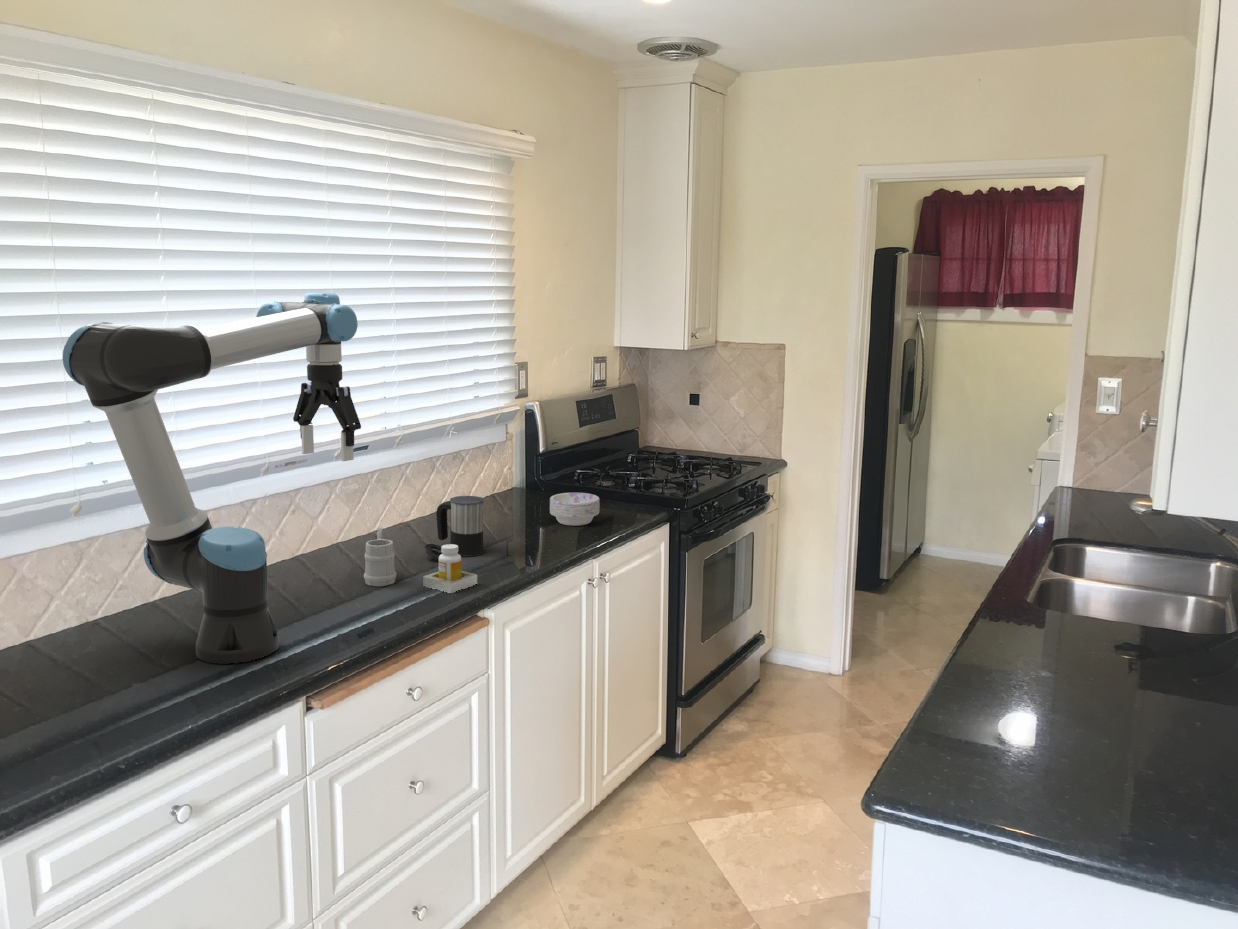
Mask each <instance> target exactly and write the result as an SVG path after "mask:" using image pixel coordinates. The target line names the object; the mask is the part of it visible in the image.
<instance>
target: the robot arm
mask: <svg viewBox="0 0 1238 929" xmlns="http://www.w3.org/2000/svg"><path fill="white" fill-rule="evenodd" d="M358 326H359V325H358V317H357V315H356V313H355V311H354V310H353V308H351V307H350V306H348V305H346V304H341V300H340V297H339V295H338V294H336V293H330V292H329V293H328V292H327V293H326V292H308V293H307V292H306V294H304V300H303V301H302V302H297V301H295V302H294V301H273V302H270V301H269V302H264V303H262V304H261V305H260V306H259V307H258V308H257V311H256V316H255V317H252V318H248V319H242V320H237V321H232V322H228V323H222V324H216V325H212V326H206V327H201V328H198V327H197V326H195V325H193V324H188V325H187V324H186V325H181V326H172V327H168V326H167V327H165V326H164V327H163V326H162V327H160V326H147V325H139V324H137V325H136V324H135V325H133V324H122V323H120V324H119V323H112V322H104V321H102V322H99V323H97V322H96V323H95V322H94V323H89V324H85V325H83V326H80V327H79V328H77V329H76V330H74V331H73V332H72V333H71V334H70V335H69V337H68V338H67V340H66V343H65V345H64V347H63V350H62V364H63V368H64V371H65V372H66V373H67V375H68V376H69V377H70V379H72V381H74V382H76V384H78V385H81V386H83V387H84V389H85V392H86V394H87V395H88V398H89V401H90V403H91V405H92V407H94V408H96V409H98V410H101V411H102V412H104V414H105V416H106V418H107V420H108V423H109V424H110V427H111V428H110V429H111V431H112V433H113V435H114V438H115V440H116V443H117V445H118V447H119V450H120V452H121V454H122V457H123V459H124V460H123V461H124V462H125V464H126V467H127V469H128V473H129V474H130V477H131V480H132V482H133V484H134V487H135V490H136V491H137V494H138V497H139V499H140V502H141V504H142V506H143V509H144V512H145V515H146V516H147V519H148V522H149V525H147V528H146V529H145V533H144V534H145V538H146V540H145V543H146V545H145V546H144V548H143V560H144V562H145V565H146V567H147V570H149V571H150V573H151V574H152V575H153V576H155V577H156V578H158V579H160V580H162V581H163V582H165V583H168V584H170V585H175V586H177V587H178V586H179V587H183V588H187V589H189V590H190V589H191V590H194V591H198V592H201V593H202V607H203V608H202V610H203V616H202V619H201V623H200V626H199V630H198V634H197V638H196V640H195V656H196V658H197V659H199V660H200V661H203V662H206V663H209V664H216V663H217V664H219V665H226V664H227V665H230V664H229V663H234V664H240V663H239V662H243V663H247V662H252V660H253V661H256V660H255V659H257V660H259V659H258V658H260V657H262V656H266V657H268V656H270V655H272V654H273V653H272V652H274V651H275V650H276V651H277V650H279V648H280V635H279V631H278V629H277V626H276V624H275V622H274V619H273V617H272V615H271V612H270V610H269V597H268V595H269V594H268V592H269V591H268V566H267V563H268V562H267V561H268V560H267V559H268V558H267V556H268V554H267V549H266V543H265V540H264V537H263V536H262V535H261V534H260V533H259V532H257V531H255V530H253V529H250V528H246V527H241V526H239V527H234V526H221V527H220V526H218V527H214V528H213V527H212V524H211V521H210V519H209V517H208V513H207V512H206V511H205V510H203V509H200V508H197V507H196V506H195V502H194V500H193V497H192V494H191V491H190V489H189V487H188V484H187V482H186V479H185V476H184V473H183V471H182V469H181V468H182V467H181V466H180V463H179V460H178V458H177V455H176V452H175V450H174V447H173V444H172V442H171V439H170V436H169V434H168V431H167V429H166V426H165V423H164V420H163V418H162V415H161V412H160V410H159V407H158V405H157V401H156V399H155V396H156V395H157V392H158V391H159V390H161V389H165V388H169V387H172V386H173V387H174V386H177V385H180V384H184V383H186V382H191V381H195V380H198V379H203V378H205V377H207V376H208V375H209V374H210V373H211V371H212V370H215V369H219V368H224V367H227V366H231V365H234V364H239V363H243V362H248V361H251V360H256V359H259V358H261V359H262V358H264V357H268V356H273V355H277V354H281V353H286V352H289V351H293V350H297V349H301V348H306V350H305V351H306V352H305V353H306V357H305V358H306V360H305V361H306V362H308V363H309V364H307V365H306V376H307V380H308V382H302V383H301V385H300V394H299V398H298V401H297V404H296V408H295V411H294V415H293V417H292V420H293V422H294V423H298V425H299V429H300V430H299V431H300V439H301V454H302V455H308V454H314V453H315V446H314V445H315V444H314V441H315V440H314V439H315V438H314V425H313V422H312V421H313V419H314V417H315V416H316V414H317V412H318V411H319V409H320V406H322V405H324V406H328V408H329V409H331V410H332V413H333V414H334V416H335V418H336V419H337V421H338V423H339V425H340V426H341V427H340V428H342V430H341V432H340V445H341V446H340V448H341V449H340V450H341V451H340V452H341V462H348V461H354V459H355V457H354V447H355V431H357V430H360V429H362V424H361V421H360V419H359V416H358V413H357V410H356V408H355V405H354V404H355V403H354V402H353V401H354V400H353V398H352V396H351V395H352V394H351V387H350V386H340V381H342V380H343V365H342V364H341V362H342V360H343V359H342V356H343V355H342V354H343V353H342V342H348V341H350V340H352V338H354V336H355V335H356V333H357V330H358ZM309 381H310V382H309ZM276 651H275V652H276ZM275 652H274V653H275ZM271 653H272V654H271ZM269 654H270V655H269ZM267 655H268V656H267ZM260 659H261V658H260ZM217 664H216V665H217Z"/></svg>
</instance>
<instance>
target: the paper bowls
mask: <svg viewBox="0 0 1238 929" xmlns="http://www.w3.org/2000/svg"><path fill="white" fill-rule="evenodd" d="M600 508H601V507H600V497H599V496H598V495H596V494H592V493H588V492H562V493H556V494H554V495H552V496H550V497H549V514H550V515H551V516H554V517H555V519H556V520H557V522H558V523H559V524H562V525H564V526H575V527H576V526H577V527H578V526H579V527H580V526H584V525H588V524H590V523H591V522H592V521H593V519H594V517H595V516H598V515H599V514H600Z"/></svg>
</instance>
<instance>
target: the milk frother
mask: <svg viewBox="0 0 1238 929" xmlns="http://www.w3.org/2000/svg"><path fill="white" fill-rule="evenodd" d="M485 501H486V499H485V498H484V497H481V496H476V495H457V496H454V497H453V496H452V497H451V498H449V500H447V501H444V502H441V503H440V504H439V505H438V506H437V509H436V515H435V516H436V528H437V538H438V540H440V541H445V540H446V539H448V537H449V531H448V530H449V529H448V528H449V527H448V511H449V510H450V538H449V539H450V542H449V544H454V545H458V553H457V554H459V555H460V556H461V557H476V556H481V555H483V554H484V553H485V549H484V510H485V509H484V507H485V506H484V503H485ZM441 546H442V545H441ZM441 546H440V545H438V544H434V543H426V544H425V545H424V551H425V553H426V554H427V555H428V556H430V557H431V558H433V559H436V562H437V561H438V559H439V556H440V555H441V554H442V552H441Z"/></svg>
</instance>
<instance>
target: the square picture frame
mask: <svg viewBox="0 0 1238 929" xmlns="http://www.w3.org/2000/svg"><path fill="white" fill-rule="evenodd" d="M461 577H462V578H459V579H456V580H453V581H448V580H444V579H440V578H439V570H438V571H436V572H433V573H429V574H426V575H423V576H422V581H423V582H422V584H423V585H422V586H423V587H424V586H425V587H424V588H428V589H431V588H432V589H431V590H435V589H438V590H437V591H439V590H440V591H439V592H443V591H444V593H446V592H447V594H450V593H451V594H455V593H456V591H457V592H459V591H458V590H460V591H462V590H461V589H463V590H465V589H468V587H469V588H471V587H474V586H476V585H475V584H477V585H478V574H477V573H473V572H469V571H464V570H461ZM473 585H474V586H473Z"/></svg>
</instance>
